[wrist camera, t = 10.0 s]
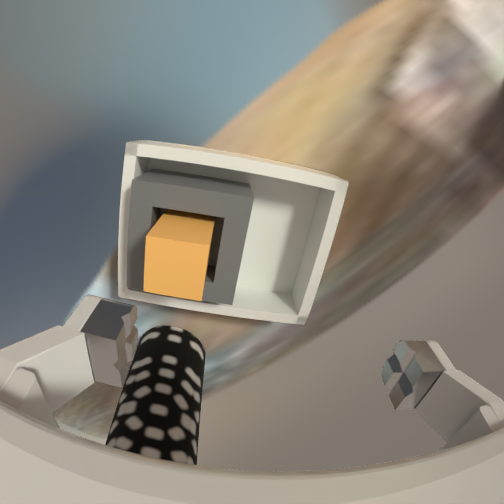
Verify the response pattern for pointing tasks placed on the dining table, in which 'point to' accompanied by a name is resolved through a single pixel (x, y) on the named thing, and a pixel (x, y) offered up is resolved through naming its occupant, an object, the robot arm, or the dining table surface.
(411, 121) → the dining table surface
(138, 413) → the white-spotted black cylinder
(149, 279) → the plug
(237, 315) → the bay
